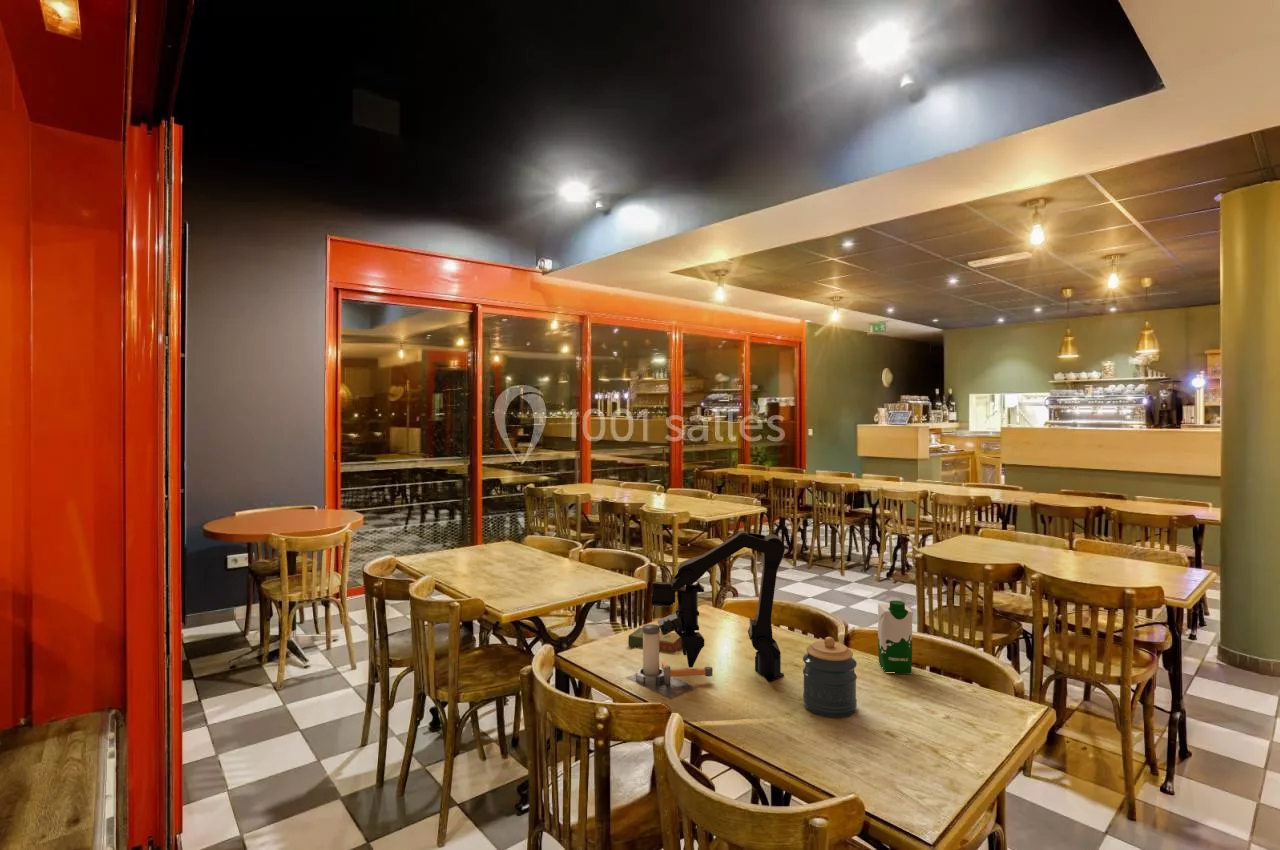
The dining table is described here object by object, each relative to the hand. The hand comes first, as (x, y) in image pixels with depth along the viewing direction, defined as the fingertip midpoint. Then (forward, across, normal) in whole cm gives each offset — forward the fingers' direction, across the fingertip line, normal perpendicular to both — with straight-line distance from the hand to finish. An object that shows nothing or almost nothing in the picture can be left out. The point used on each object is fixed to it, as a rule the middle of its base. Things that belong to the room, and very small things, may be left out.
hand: (687, 661), depth 179 cm
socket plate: (+4, +7, -9) cm, 12 cm away
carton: (+4, -22, -7) cm, 24 cm away
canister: (+4, +24, +32) cm, 40 cm away
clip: (+3, +5, -1) cm, 6 cm away
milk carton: (+4, +3, +60) cm, 60 cm away
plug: (+3, +4, -11) cm, 12 cm away
